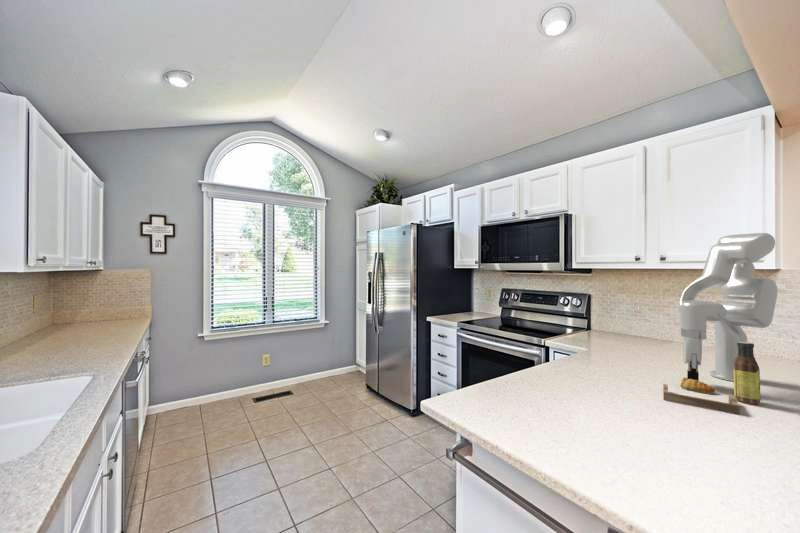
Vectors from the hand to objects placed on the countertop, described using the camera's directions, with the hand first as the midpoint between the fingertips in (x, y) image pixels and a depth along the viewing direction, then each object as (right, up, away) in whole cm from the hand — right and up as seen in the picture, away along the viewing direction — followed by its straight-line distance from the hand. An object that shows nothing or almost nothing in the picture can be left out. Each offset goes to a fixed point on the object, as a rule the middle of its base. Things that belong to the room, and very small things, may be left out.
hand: (692, 381), depth 131 cm
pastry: (-4, -2, -5) cm, 7 cm away
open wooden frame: (-14, -1, -18) cm, 22 cm away
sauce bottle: (+4, -1, -17) cm, 17 cm away
